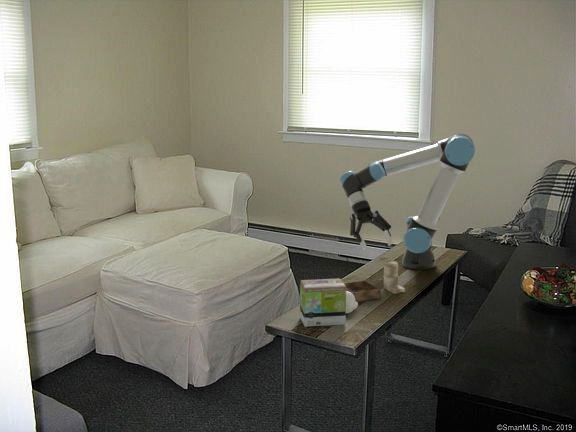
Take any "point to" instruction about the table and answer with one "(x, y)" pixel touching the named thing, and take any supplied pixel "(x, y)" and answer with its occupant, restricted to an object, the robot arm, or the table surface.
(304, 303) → the tea box
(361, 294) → the open brown box
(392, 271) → the beige block
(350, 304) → the rabbit
